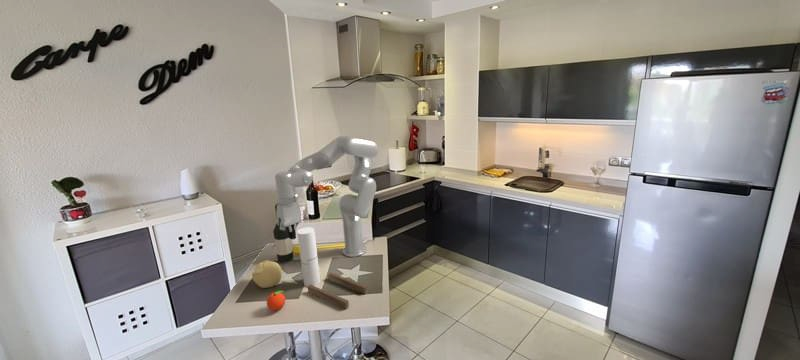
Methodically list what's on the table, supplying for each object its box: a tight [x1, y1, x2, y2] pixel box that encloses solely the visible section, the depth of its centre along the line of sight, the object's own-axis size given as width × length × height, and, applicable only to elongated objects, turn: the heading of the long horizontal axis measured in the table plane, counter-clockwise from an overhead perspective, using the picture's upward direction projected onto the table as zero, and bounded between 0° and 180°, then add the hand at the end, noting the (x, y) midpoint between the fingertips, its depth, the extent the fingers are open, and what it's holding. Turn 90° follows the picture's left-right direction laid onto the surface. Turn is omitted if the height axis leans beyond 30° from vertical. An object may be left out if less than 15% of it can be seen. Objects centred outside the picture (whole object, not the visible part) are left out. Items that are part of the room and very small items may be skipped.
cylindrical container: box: [296, 226, 321, 287], centre depth 145 cm, size 7×7×25 cm
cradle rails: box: [307, 272, 368, 310], centre depth 139 cm, size 13×22×3 cm, turn 56°
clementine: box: [266, 290, 286, 312], centre depth 130 cm, size 8×7×7 cm
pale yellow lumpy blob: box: [251, 259, 283, 289], centre depth 147 cm, size 11×12×11 cm
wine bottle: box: [272, 202, 295, 264], centre depth 166 cm, size 8×8×30 cm
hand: (292, 238), depth 149 cm, fingers closed
